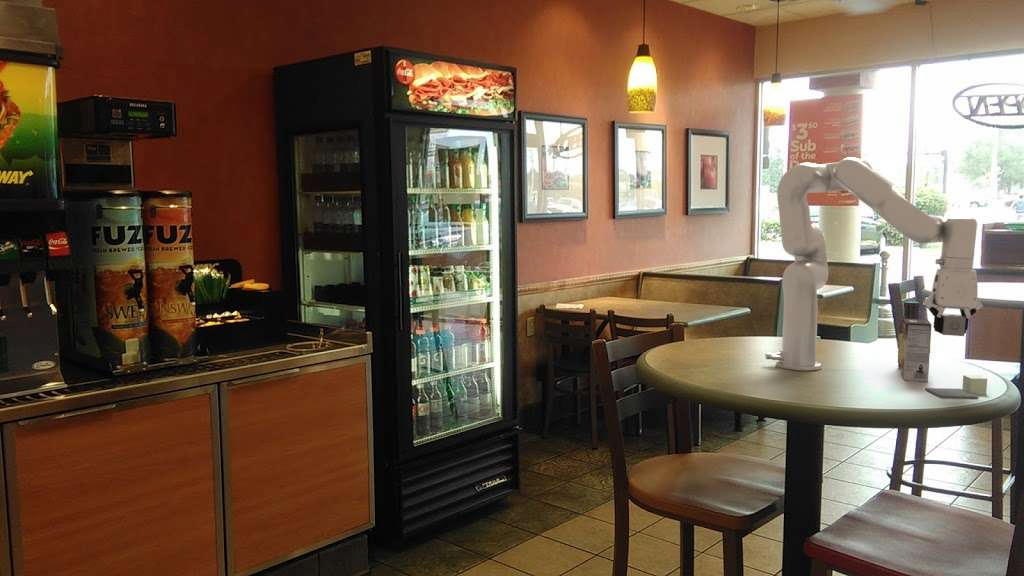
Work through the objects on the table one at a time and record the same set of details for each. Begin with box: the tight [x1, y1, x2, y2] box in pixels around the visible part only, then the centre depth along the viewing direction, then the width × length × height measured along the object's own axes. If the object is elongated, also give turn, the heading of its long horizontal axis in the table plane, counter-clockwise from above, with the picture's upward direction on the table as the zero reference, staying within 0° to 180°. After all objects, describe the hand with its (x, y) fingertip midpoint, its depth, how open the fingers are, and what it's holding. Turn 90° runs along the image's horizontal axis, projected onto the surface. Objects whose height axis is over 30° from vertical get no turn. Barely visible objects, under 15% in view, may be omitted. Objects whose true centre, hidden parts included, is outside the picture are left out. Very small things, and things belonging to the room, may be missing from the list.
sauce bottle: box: [897, 301, 920, 370], centre depth 235 cm, size 7×6×20 cm
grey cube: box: [939, 313, 966, 337], centre depth 211 cm, size 5×5×5 cm
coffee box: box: [900, 318, 932, 383], centre depth 222 cm, size 9×6×16 cm
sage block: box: [961, 374, 988, 395], centre depth 206 cm, size 4×4×4 cm
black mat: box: [924, 387, 979, 400], centre depth 203 cm, size 9×9×1 cm
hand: (950, 331), depth 212 cm, fingers closed on grey cube, 5 cm apart
